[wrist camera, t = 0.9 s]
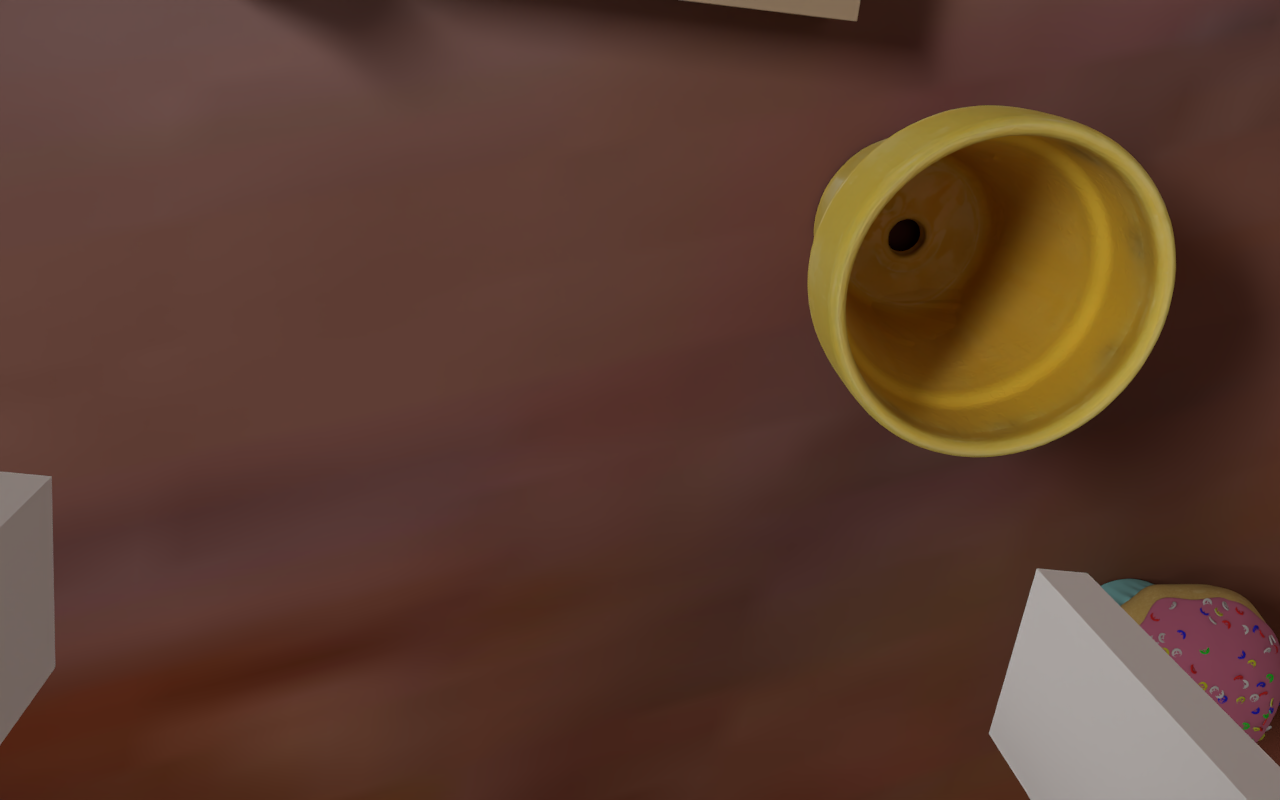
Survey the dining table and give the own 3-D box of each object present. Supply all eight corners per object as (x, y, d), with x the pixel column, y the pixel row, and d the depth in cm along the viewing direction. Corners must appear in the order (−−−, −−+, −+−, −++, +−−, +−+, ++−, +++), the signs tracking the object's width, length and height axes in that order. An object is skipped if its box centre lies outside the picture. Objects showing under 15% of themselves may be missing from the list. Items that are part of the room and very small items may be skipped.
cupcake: (1039, 729, 50) (1188, 943, 39) (1006, 571, 47) (1158, 753, 36) (1223, 671, 50) (1426, 869, 39) (1202, 508, 47) (1416, 672, 36)
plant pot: (939, 405, 44) (1048, 513, 35) (712, 290, 42) (766, 375, 32) (1089, 168, 41) (1250, 219, 32) (856, 30, 39) (960, 43, 30)
